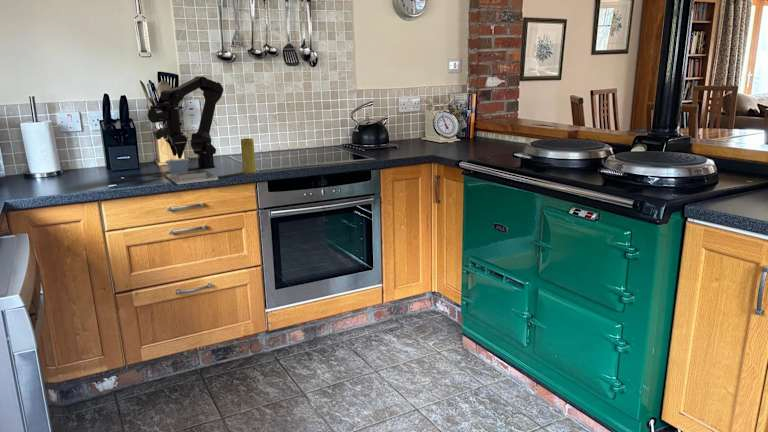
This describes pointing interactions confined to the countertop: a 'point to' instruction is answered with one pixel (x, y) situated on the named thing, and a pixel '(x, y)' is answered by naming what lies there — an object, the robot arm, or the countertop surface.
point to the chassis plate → (191, 177)
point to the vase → (248, 156)
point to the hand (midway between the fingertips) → (177, 157)
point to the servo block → (177, 165)
